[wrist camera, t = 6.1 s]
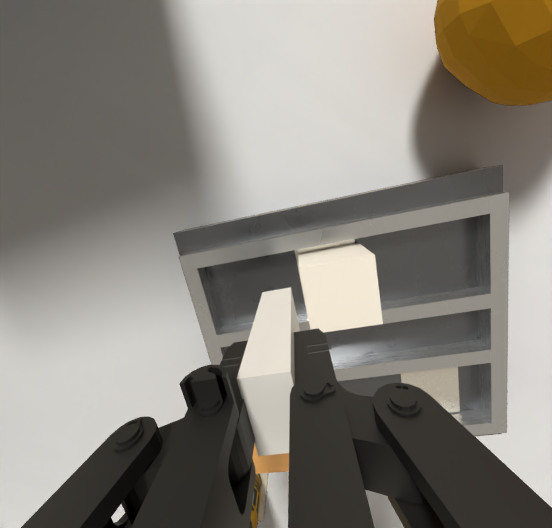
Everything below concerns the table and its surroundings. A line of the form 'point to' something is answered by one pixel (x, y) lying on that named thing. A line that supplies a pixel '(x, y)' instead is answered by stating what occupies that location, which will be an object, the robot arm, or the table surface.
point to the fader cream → (340, 288)
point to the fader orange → (270, 462)
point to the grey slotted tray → (381, 286)
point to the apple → (498, 47)
